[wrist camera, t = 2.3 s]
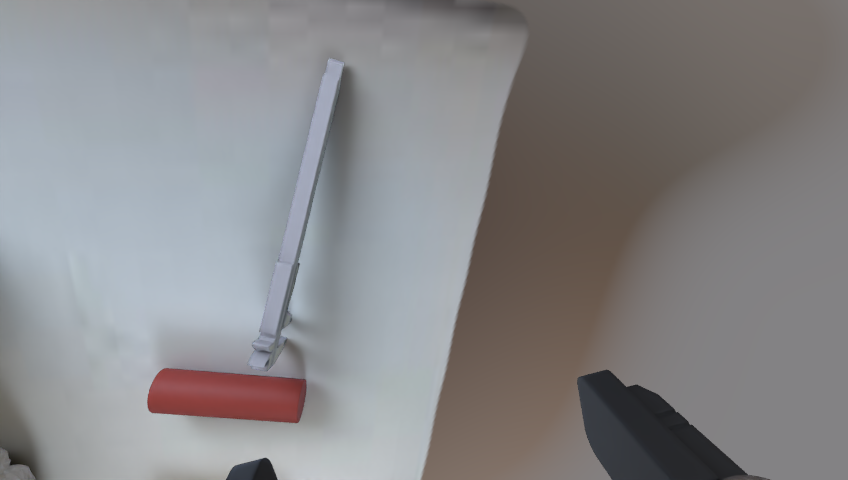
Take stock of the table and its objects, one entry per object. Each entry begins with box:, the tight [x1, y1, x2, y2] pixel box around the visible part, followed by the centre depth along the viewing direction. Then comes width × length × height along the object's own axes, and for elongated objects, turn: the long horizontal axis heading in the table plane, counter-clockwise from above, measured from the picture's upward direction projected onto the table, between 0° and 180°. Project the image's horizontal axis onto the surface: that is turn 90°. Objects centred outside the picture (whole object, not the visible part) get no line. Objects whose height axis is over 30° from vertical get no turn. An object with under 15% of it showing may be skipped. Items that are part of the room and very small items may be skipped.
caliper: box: [247, 58, 345, 371], centre depth 25 cm, size 20×1×6 cm, turn 166°
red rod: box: [147, 368, 306, 423], centre depth 29 cm, size 10×3×3 cm, turn 82°
